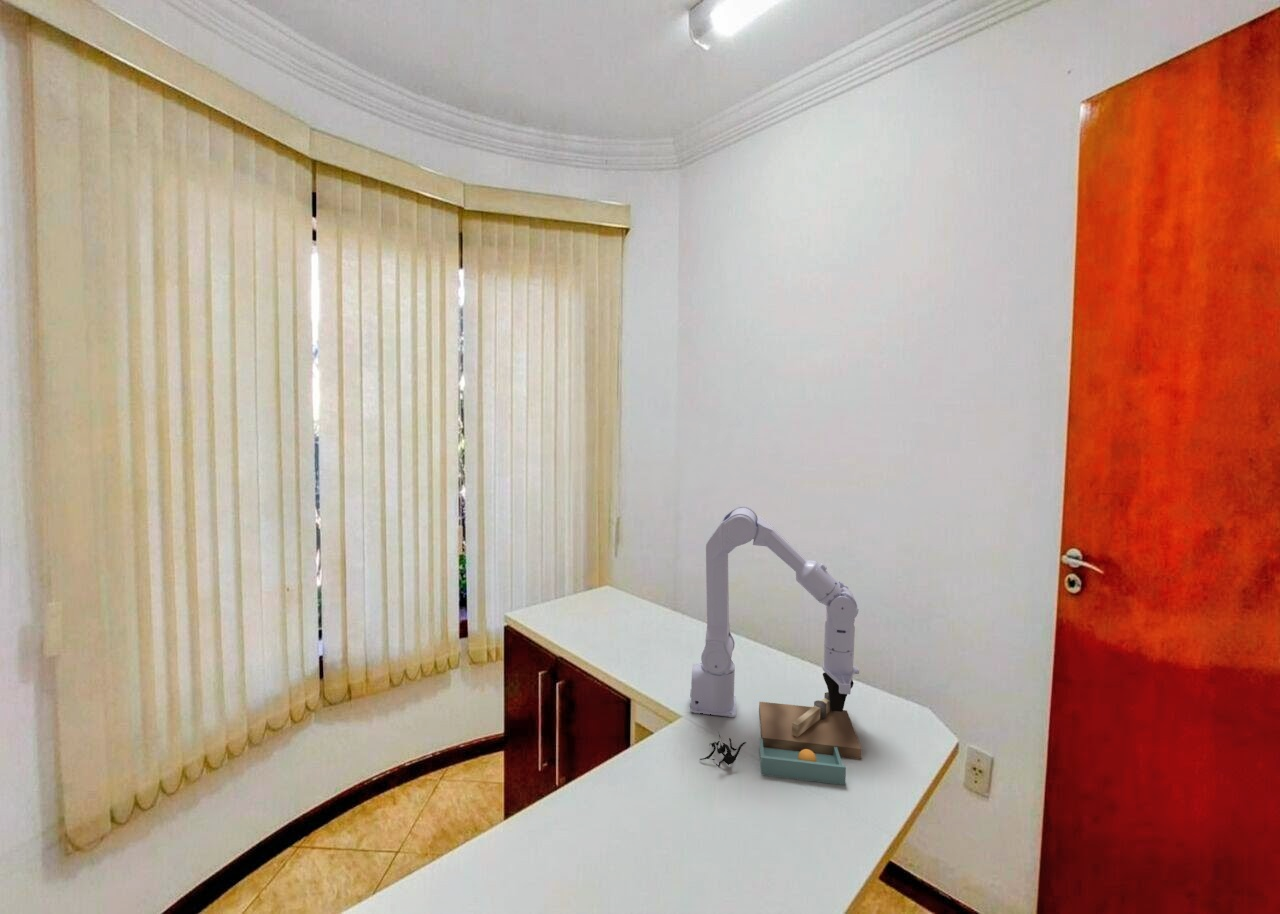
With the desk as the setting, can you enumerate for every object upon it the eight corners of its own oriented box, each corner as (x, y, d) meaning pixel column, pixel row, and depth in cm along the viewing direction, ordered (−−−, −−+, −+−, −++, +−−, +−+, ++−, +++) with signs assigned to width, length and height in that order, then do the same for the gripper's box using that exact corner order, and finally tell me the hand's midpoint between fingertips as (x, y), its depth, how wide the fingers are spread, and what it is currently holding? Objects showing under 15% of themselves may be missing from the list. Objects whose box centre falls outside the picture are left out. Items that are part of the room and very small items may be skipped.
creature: (693, 760, 99) (715, 777, 92) (691, 729, 100) (712, 744, 93) (729, 749, 102) (753, 765, 95) (726, 720, 103) (749, 734, 96)
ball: (793, 760, 96) (796, 761, 94) (802, 744, 98) (805, 744, 95) (809, 773, 95) (812, 774, 93) (818, 757, 96) (821, 757, 94)
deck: (762, 747, 101) (762, 737, 101) (759, 710, 114) (759, 701, 114) (861, 759, 98) (861, 748, 98) (846, 719, 111) (846, 710, 111)
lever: (800, 738, 101) (800, 723, 100) (789, 733, 102) (789, 718, 102) (836, 709, 111) (837, 695, 111) (825, 704, 113) (826, 690, 112)
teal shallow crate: (761, 774, 94) (761, 757, 93) (759, 748, 101) (759, 732, 101) (845, 785, 91) (845, 767, 91) (836, 757, 99) (837, 740, 98)
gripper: (868, 664, 100) (865, 732, 101) (851, 633, 114) (849, 693, 115) (829, 661, 101) (827, 728, 102) (818, 631, 116) (815, 690, 117)
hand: (836, 710), depth 109 cm, fingers closed, pressing on lever
